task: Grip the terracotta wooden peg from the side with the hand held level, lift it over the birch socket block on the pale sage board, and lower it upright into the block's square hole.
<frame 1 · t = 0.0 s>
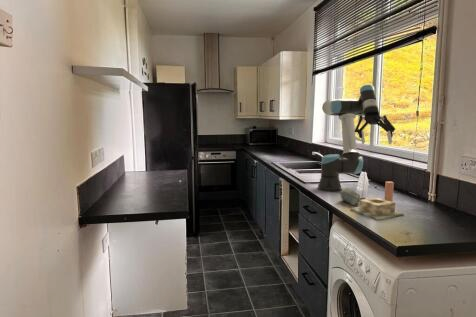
hand: (377, 142, 166), 36 cm above the worktop, fingers open, 13 cm apart
grey-green oval piece: (350, 203, 185), on the worktop
peg: (388, 207, 176), on the worktop
socket: (376, 212, 167), on the worktop
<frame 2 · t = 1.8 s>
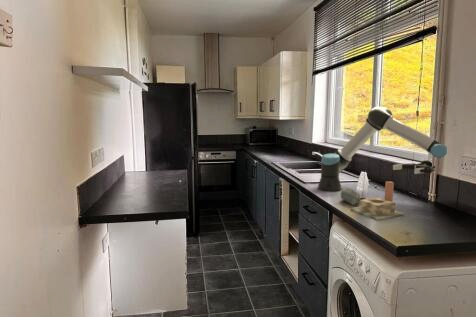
hand: (403, 169, 177), 20 cm above the worktop, fingers open, 13 cm apart
nothing on the worktop moved.
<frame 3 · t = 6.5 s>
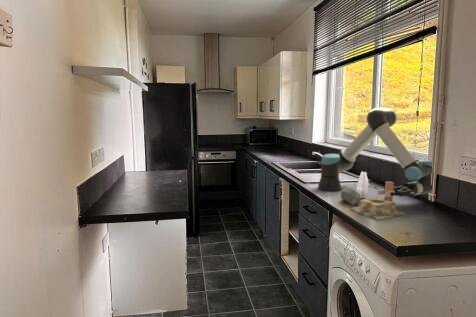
hand: (381, 193, 172), 8 cm above the worktop, fingers closed on peg, 4 cm apart
peg: (388, 207, 176), on the worktop, touching gripper
everything else where it was.
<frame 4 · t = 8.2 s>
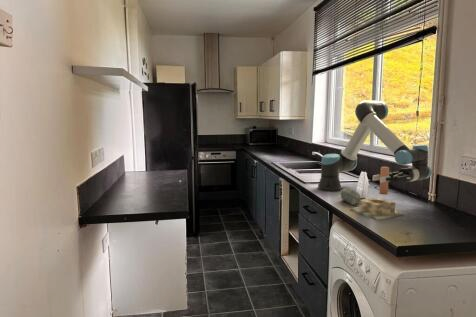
hand: (376, 178, 164), 18 cm above the worktop, fingers closed on peg, 4 cm apart
peg: (383, 193, 168), point 9 cm above the worktop, touching gripper
everything else where it was.
when the fingers open (11 cm above the worktop, at t = 10.4 s): peg drops 2 cm, resting on socket.
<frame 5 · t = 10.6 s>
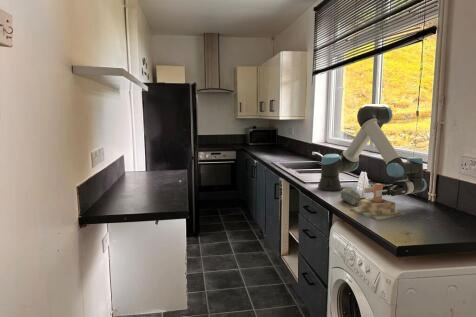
hand: (370, 192, 163), 11 cm above the worktop, fingers open, 7 cm apart
peg: (376, 210, 167), point 1 cm above the worktop, touching socket
everything else where it was.
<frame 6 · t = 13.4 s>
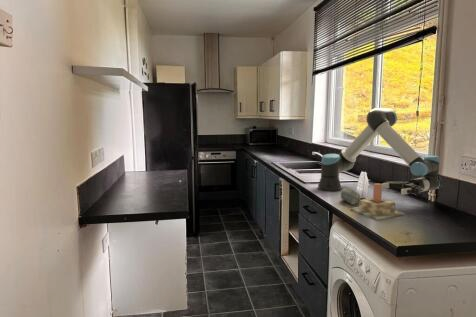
hand: (390, 189, 169), 11 cm above the worktop, fingers open, 13 cm apart
nothing on the worktop moved.
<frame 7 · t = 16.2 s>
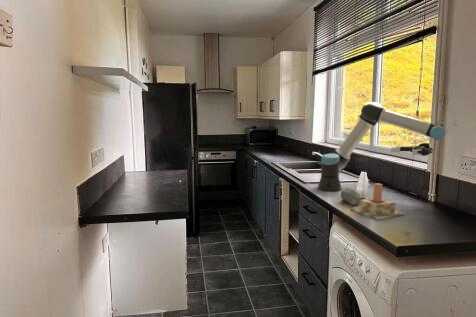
hand: (401, 151, 179), 30 cm above the worktop, fingers open, 13 cm apart
nothing on the worktop moved.
at the end: peg 0.0 cm off-centre on the socket, point 1.0 cm above the socket's base; peg tilted 1°; the gripper is holding nothing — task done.
